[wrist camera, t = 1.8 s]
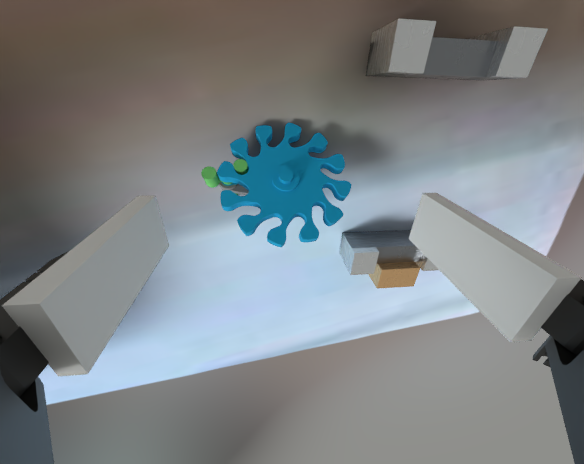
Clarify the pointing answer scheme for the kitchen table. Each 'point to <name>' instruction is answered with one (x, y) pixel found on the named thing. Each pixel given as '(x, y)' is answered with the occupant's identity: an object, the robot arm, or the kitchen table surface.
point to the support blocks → (440, 65)
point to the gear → (280, 183)
